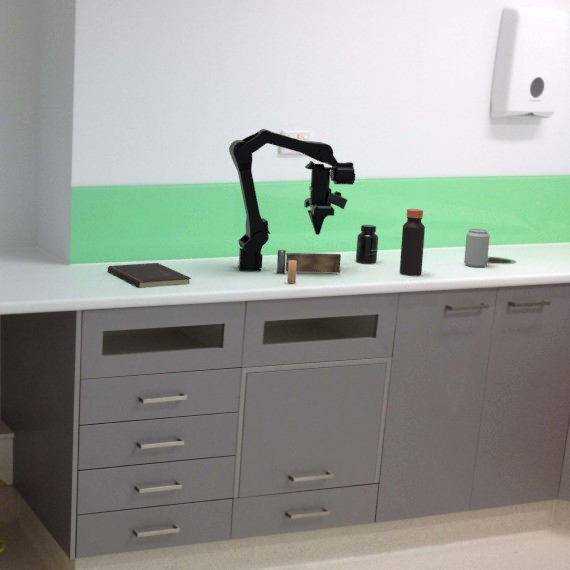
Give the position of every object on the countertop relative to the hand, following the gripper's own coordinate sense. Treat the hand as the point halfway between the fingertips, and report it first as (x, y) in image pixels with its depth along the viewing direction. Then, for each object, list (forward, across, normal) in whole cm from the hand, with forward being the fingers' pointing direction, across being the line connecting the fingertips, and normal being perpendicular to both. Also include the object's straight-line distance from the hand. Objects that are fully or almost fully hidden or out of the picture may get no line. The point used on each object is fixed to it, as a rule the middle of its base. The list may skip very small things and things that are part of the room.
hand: (317, 234), depth 330 cm
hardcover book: (+12, -16, +52) cm, 56 cm away
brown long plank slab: (+10, -7, +2) cm, 13 cm away
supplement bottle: (+11, +13, -19) cm, 26 cm away
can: (+11, +10, -55) cm, 57 cm away
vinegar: (+11, -5, -29) cm, 31 cm away
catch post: (+11, -20, +11) cm, 26 cm away
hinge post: (+11, -7, +12) cm, 18 cm away
